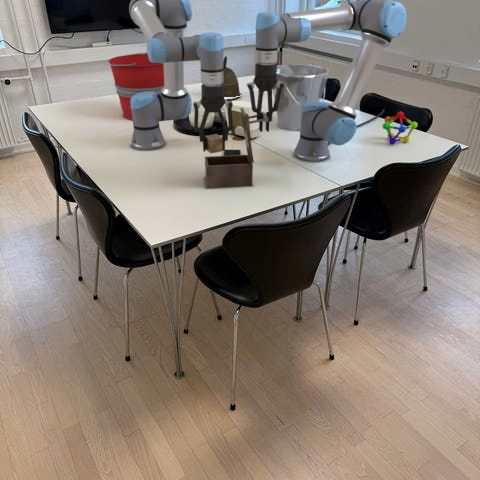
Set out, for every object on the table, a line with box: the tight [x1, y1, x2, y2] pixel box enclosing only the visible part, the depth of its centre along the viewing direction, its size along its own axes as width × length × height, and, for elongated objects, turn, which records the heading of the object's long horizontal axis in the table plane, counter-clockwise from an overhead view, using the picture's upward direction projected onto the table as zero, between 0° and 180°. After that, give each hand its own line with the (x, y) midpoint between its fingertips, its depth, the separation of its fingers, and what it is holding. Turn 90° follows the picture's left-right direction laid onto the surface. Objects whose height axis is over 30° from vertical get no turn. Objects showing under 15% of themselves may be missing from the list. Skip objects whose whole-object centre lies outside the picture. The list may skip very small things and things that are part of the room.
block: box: [205, 133, 224, 154], centre depth 159 cm, size 5×5×5 cm
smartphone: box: [223, 149, 241, 156], centre depth 194 cm, size 7×1×15 cm
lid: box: [240, 107, 269, 164], centre depth 164 cm, size 18×10×9 cm
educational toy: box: [382, 110, 418, 145], centre depth 207 cm, size 16×13×15 cm
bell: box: [222, 56, 242, 97], centre depth 278 cm, size 19×26×20 cm
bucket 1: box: [105, 51, 164, 121], centre depth 241 cm, size 35×35×30 cm
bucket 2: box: [272, 63, 330, 131], centre depth 226 cm, size 30×30×28 cm
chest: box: [204, 154, 254, 189], centre depth 170 cm, size 17×10×9 cm, turn 98°
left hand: (214, 149), depth 160 cm, fingers closed on block, 6 cm apart
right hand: (264, 130), depth 164 cm, fingers closed on lid, 2 cm apart
